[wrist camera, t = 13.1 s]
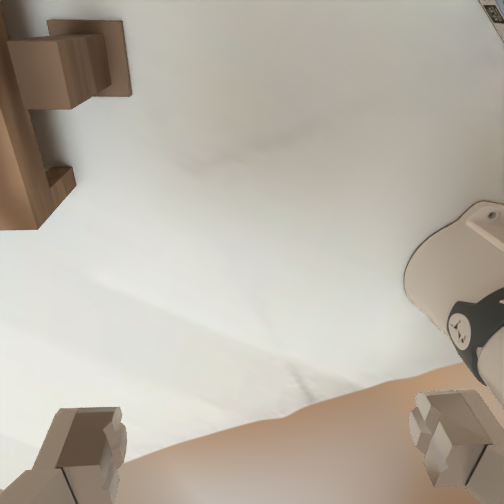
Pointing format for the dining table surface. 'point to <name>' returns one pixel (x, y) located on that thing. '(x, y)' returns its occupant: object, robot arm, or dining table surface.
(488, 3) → the light bulb box
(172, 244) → the dining table surface
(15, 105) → the wooden footstool
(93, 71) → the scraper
